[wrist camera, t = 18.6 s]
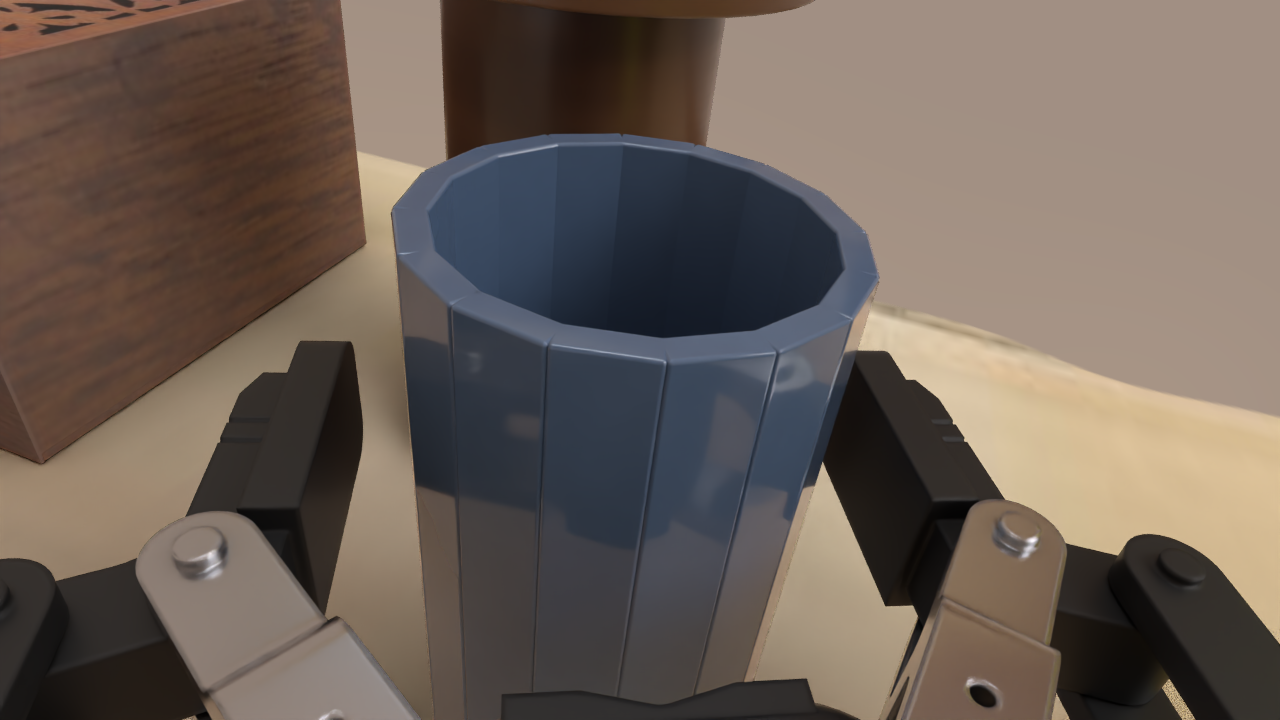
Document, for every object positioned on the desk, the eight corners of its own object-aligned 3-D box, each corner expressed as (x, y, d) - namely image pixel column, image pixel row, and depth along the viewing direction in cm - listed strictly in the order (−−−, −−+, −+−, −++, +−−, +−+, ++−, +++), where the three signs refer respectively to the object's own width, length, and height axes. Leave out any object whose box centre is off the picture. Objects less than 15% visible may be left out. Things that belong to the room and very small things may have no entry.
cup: (372, 780, 16) (276, 234, 9) (543, 576, 21) (567, 104, 14) (638, 961, 14) (776, 439, 7) (763, 691, 19) (924, 208, 12)
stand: (306, 420, 24) (208, -131, 16) (520, 273, 32) (527, -141, 24) (627, 582, 21) (714, -24, 12) (777, 371, 29) (889, -79, 21)
